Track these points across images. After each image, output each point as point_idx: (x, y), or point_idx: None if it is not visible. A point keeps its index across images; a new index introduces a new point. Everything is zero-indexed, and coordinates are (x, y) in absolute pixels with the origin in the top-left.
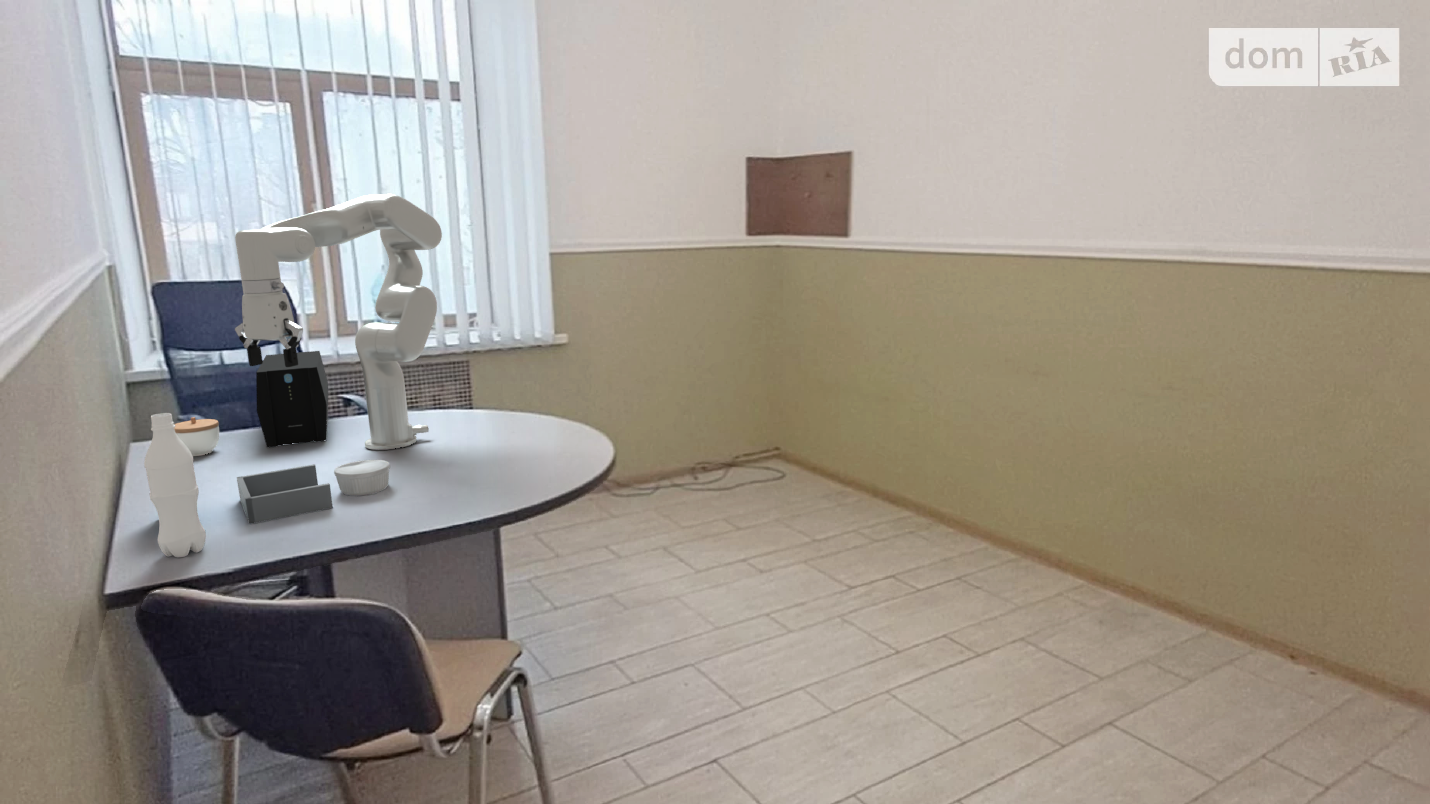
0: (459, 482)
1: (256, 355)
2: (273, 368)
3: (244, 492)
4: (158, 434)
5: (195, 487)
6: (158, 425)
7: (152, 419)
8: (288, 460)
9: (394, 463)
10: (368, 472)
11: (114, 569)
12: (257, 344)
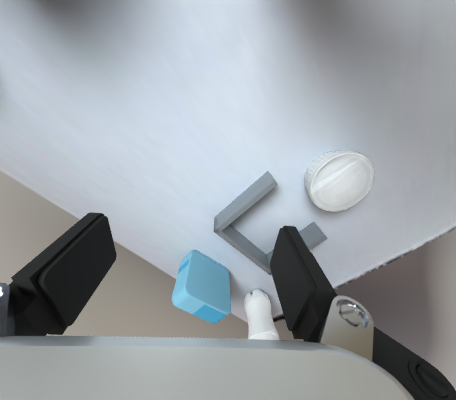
0: (434, 139)
1: (87, 268)
2: None
3: (256, 263)
4: None
5: (278, 337)
6: None
7: None
8: (139, 54)
9: (330, 54)
10: (356, 203)
11: (233, 312)
12: (12, 301)
